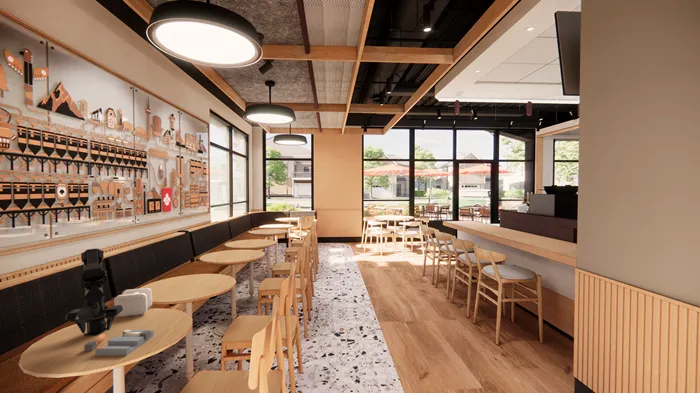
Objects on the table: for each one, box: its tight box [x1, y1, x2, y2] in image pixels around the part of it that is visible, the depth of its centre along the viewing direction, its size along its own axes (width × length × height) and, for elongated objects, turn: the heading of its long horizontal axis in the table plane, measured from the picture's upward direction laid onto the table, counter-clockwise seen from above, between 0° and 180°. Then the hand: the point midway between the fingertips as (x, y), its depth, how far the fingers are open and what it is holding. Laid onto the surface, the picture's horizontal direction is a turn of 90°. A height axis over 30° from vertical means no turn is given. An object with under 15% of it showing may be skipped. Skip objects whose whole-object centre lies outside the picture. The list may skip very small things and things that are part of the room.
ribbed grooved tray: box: [94, 329, 154, 357], centre depth 131 cm, size 13×16×3 cm
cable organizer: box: [113, 287, 153, 318], centre depth 166 cm, size 15×11×12 cm
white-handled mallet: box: [124, 329, 152, 341], centre depth 135 cm, size 10×3×3 cm, turn 88°
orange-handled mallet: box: [83, 333, 107, 352], centre depth 132 cm, size 10×3×3 cm, turn 13°
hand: (96, 331), depth 133 cm, fingers open, 9 cm apart
